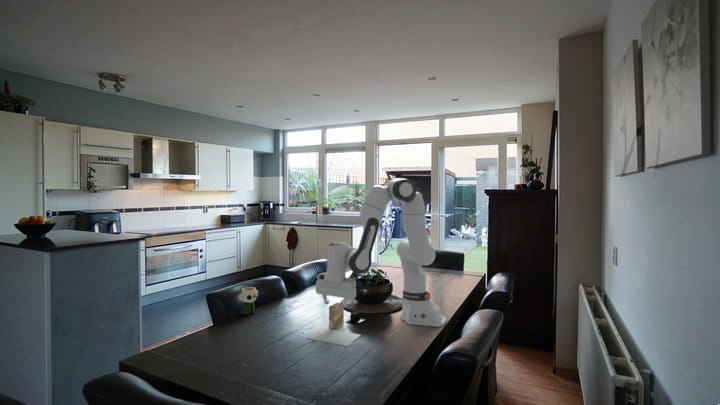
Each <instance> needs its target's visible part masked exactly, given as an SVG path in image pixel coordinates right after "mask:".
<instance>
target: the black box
mask: <svg viewBox="0 0 720 405" xmlns="http://www.w3.org/2000/svg"><path fill="white" fill-rule="evenodd" d="M349 318H350V320H347V321H345V323H346V324H349V325H353V326H355V325H358V324H359V323H361V322H363V321H365V320H366V319H365V318H361V312H359V311H353V312H351V313H350V316H349Z"/></svg>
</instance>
